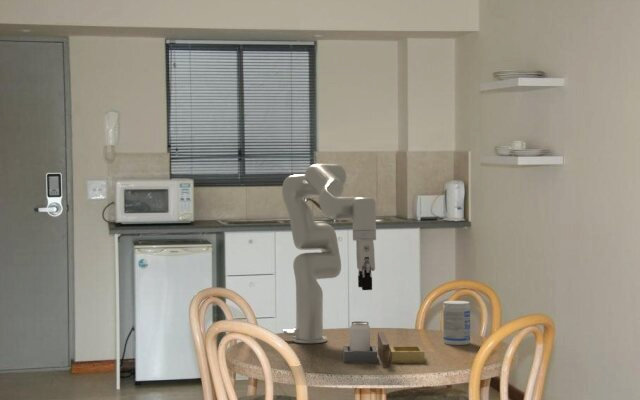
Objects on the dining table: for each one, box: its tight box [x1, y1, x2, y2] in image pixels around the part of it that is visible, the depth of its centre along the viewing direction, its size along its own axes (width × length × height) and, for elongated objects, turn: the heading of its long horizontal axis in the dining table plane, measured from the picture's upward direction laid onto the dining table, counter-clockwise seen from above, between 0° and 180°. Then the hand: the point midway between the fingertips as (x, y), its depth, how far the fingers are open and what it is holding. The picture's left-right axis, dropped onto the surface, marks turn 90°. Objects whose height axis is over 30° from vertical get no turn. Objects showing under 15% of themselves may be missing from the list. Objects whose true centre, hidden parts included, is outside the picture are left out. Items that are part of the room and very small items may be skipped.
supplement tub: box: [442, 300, 471, 346], centre depth 343 cm, size 10×10×15 cm
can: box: [349, 320, 371, 351], centre depth 313 cm, size 6×6×12 cm
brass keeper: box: [389, 345, 425, 364], centre depth 313 cm, size 10×10×4 cm
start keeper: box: [342, 345, 378, 364], centre depth 313 cm, size 10×10×4 cm
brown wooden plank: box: [377, 331, 390, 368], centre depth 313 cm, size 2×24×7 cm, turn 0°
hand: (365, 288), depth 314 cm, fingers open, 9 cm apart
